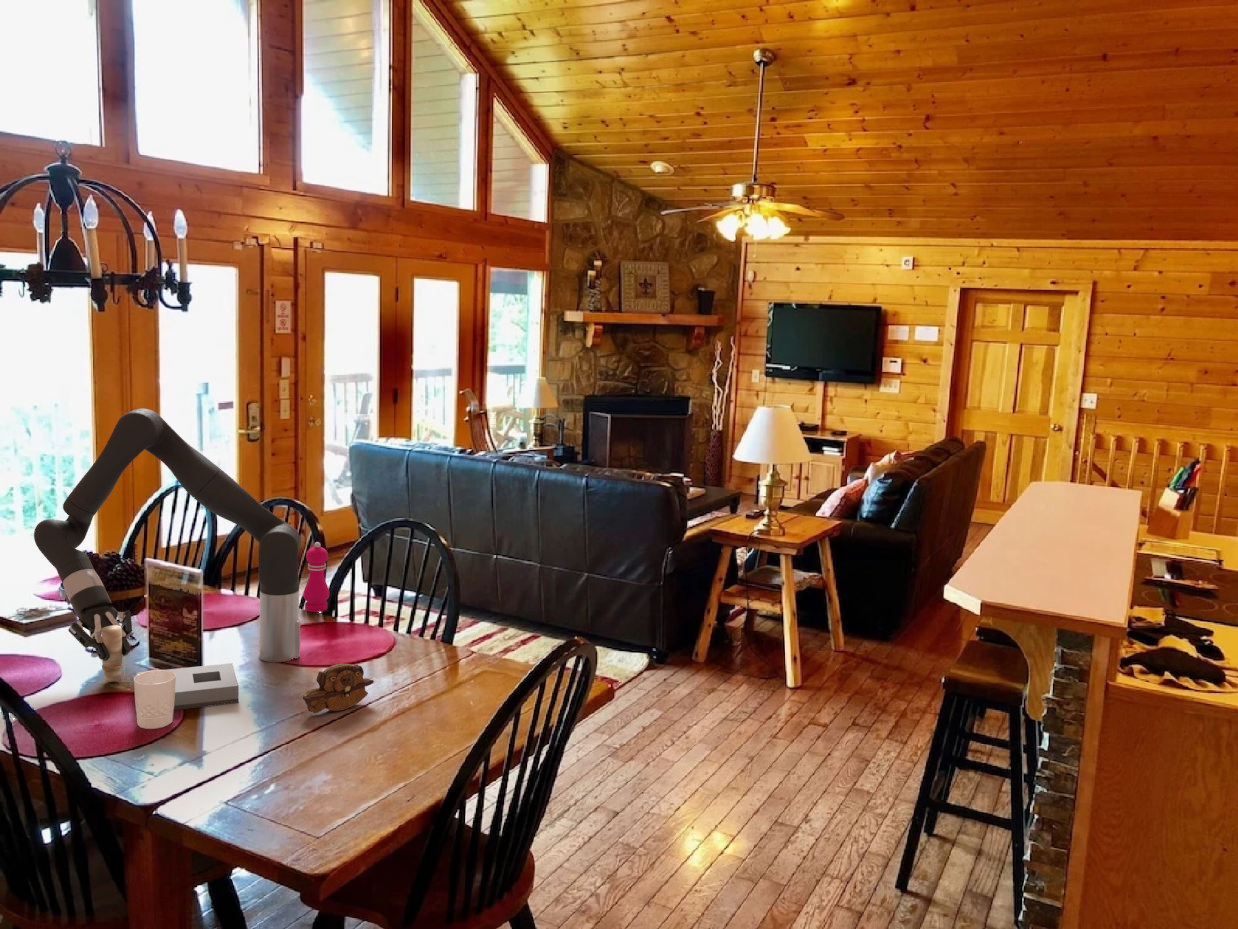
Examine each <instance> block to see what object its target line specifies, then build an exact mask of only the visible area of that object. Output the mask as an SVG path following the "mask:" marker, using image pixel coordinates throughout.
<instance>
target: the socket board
mask: <svg viewBox="0 0 1238 929" xmlns="http://www.w3.org/2000/svg"><path fill="white" fill-rule="evenodd" d="M166 670H167V671H171V672H174V673H175V674H176V684H175V703H174V709H173V711H178V710H179V709H180V710H186V709H187V710H188V709H196V708H205V707H212V706H213V707H214V706H221V705H232V704H239V703H240V702H239V695H240V694H239V690H240V689H239V686H240V685H239V683H238V679H237V676H236V674H237V673H236V672H235V668H234V665H233V663H232V662H230V663H221V664H209V665H201V666H199V665H198V666H191V667H190V666H189V667H181V668H179V667H178V668H170V669H166ZM143 672H144V671H140V672H136V676H137V675H138V674H141V673H143ZM180 710H179V711H180Z"/></svg>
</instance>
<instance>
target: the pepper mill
mask: <svg viewBox="0 0 1238 929" xmlns="http://www.w3.org/2000/svg"><path fill="white" fill-rule="evenodd" d="M305 554H306V556H305V557H306V558H305V559H306V561H307V562H308V563H307V569H308V570H309V571H308V572H309V576H308V581H307V582H306V585H305V587H304V589H303V594H302V595H303V599H304V600H305V603H304V610H305V611H306V612H309V613H319V612H324V611H326V610H327V609H328V601H327V600H328V599H329V597H330V589H329V586H328V584H327V582H326V579H325V570H326V569H327V566H326V565H327V563H326V562H327V560H329V559H328V558H329V553H328V550H326V549H325V547H322V545H321V542H319V541H316V542H315V543H314V547H313V546H312V547H310V548H309V549H308V550H307V551H306V553H305Z"/></svg>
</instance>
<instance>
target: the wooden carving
mask: <svg viewBox="0 0 1238 929" xmlns="http://www.w3.org/2000/svg"><path fill="white" fill-rule="evenodd" d="M364 673H365V672H364V669H363V667H362V665H359V664H357V663H355V664H351V663H337V664H333V665H330V666H329V667H327V668H325V669H324V670H323V671H321V670H320V671H318V674H317V676H316V679H315V680H316V683H318V686H319V687H317V688H313V689H310V690H308V691H306V693H304V694H303V695H302V700H303V701H304V702H305V704H306V708H307V710H308V712H309V713H313V714H318V713H320V712H322V711H323V710H328V711H334V712H336V711H338V712H339V711H343V710H347V709H349V707H350V708H352V707H354V706H355V705H357V704H359V703H360V702H361V701H362V700H364V699H365V698H366V697H367V696H368V694H369V692H367V690H366V687H368V686H371V685H373V684H374V679H370V678H368V677H367V678H366V677H365V678H364Z"/></svg>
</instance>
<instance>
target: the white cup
mask: <svg viewBox="0 0 1238 929" xmlns="http://www.w3.org/2000/svg"><path fill="white" fill-rule="evenodd" d="M167 670H168V669H154V670H148V671H142V672H143V673H141V674H138V675H137V674H136V675H135V676H134V677H133V685H134V688H133V689H134V702H135V703H134V704H135V712H136V724H137V726H139V728H142V729H147V730H153V729H154V730H155V729H161V728H164V727H166V726H167V727H168V726H169V725H170V724H171V723H172V724H173V721H174V710H173V709H174V703H175V684H176V674H175V673H174V672H171V671H167Z"/></svg>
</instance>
